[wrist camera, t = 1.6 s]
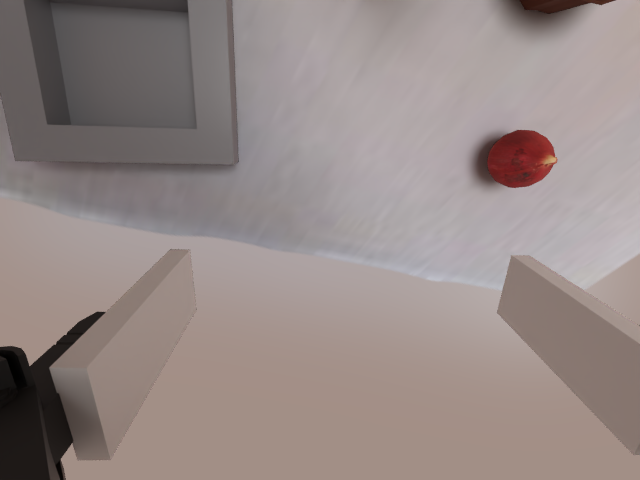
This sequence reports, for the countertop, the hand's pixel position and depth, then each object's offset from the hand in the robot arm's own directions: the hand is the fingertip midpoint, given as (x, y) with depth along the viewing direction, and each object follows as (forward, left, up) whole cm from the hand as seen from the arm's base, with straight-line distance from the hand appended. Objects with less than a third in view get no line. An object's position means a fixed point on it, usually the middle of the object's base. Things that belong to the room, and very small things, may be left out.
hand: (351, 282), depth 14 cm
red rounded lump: (-4, +22, -24) cm, 33 cm away
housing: (-11, -16, -24) cm, 31 cm away
